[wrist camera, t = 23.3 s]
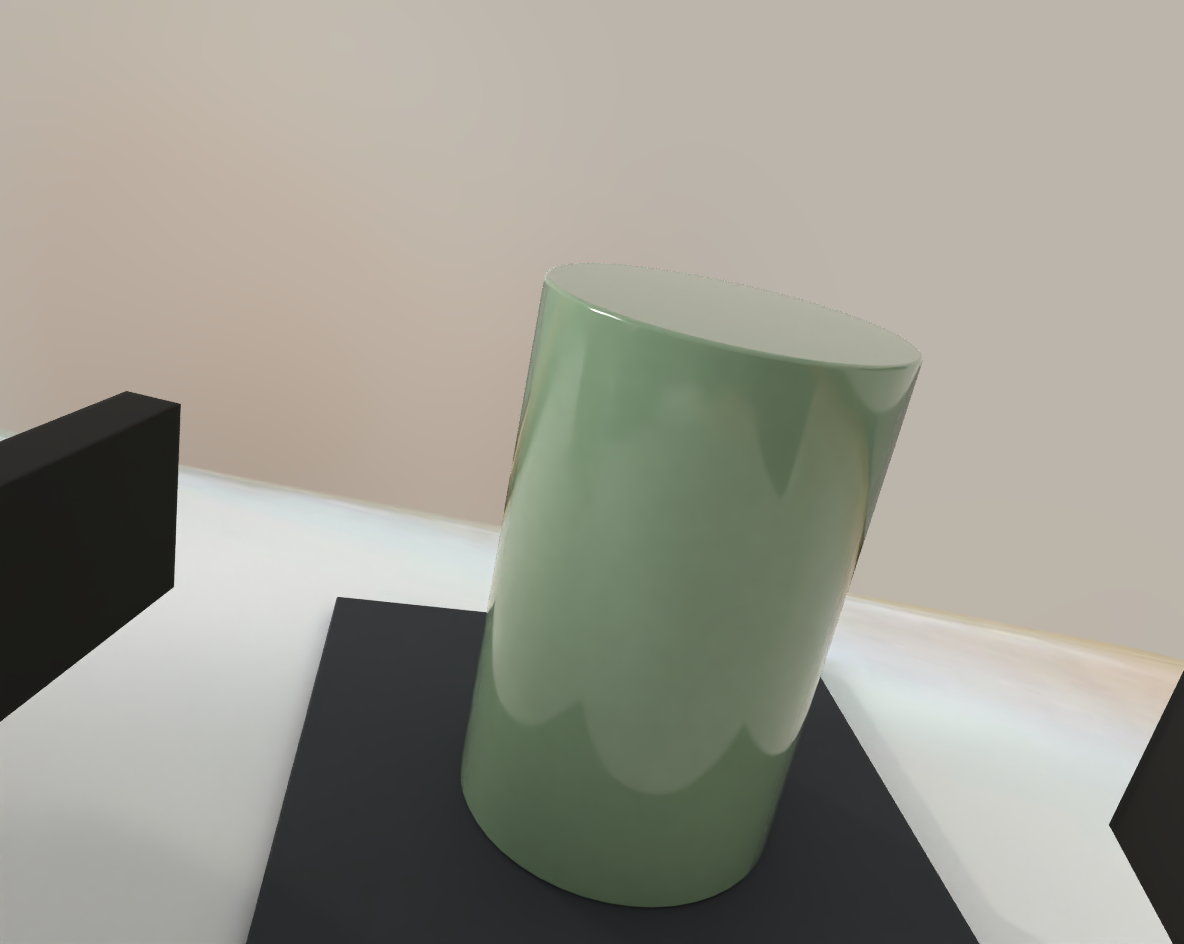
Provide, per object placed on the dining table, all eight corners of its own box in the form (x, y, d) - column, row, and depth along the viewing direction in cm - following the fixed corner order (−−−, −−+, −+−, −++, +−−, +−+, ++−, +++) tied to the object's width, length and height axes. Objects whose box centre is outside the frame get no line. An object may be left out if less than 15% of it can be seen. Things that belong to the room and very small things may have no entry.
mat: (335, 608, 27) (337, 596, 26) (798, 656, 29) (802, 644, 29) (209, 1097, 14) (210, 1078, 14) (1059, 1106, 16) (1068, 1090, 16)
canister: (394, 758, 21) (464, 259, 17) (601, 663, 26) (691, 265, 22) (635, 974, 17) (801, 381, 13) (823, 810, 22) (981, 354, 18)
